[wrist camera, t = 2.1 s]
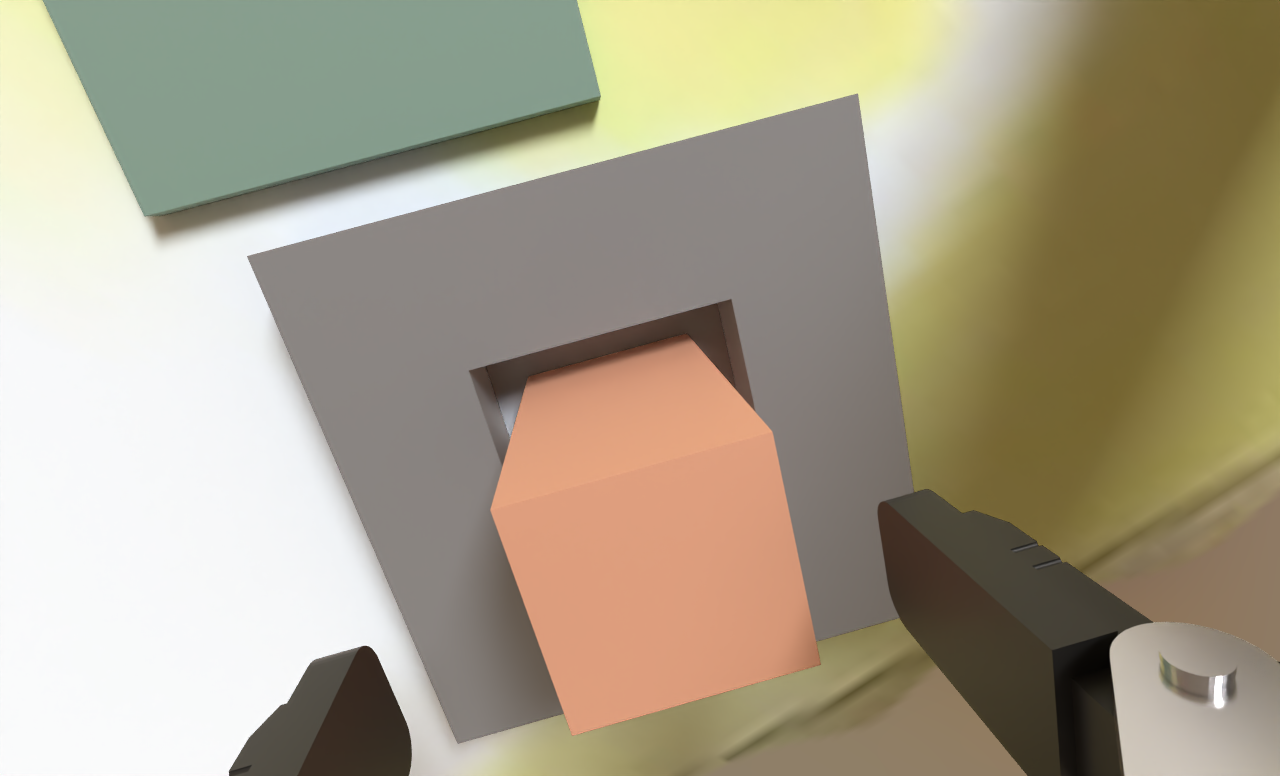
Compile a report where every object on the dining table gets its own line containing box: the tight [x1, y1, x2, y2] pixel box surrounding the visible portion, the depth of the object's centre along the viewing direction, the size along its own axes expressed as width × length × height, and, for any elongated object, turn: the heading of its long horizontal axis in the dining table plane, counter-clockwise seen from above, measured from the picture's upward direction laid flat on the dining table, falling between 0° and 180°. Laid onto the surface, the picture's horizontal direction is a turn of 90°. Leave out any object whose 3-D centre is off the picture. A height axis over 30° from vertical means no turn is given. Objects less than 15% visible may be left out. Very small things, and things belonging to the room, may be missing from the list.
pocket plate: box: [247, 94, 914, 744], centre depth 17 cm, size 14×14×2 cm
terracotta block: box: [490, 333, 821, 736], centre depth 14 cm, size 4×4×8 cm
